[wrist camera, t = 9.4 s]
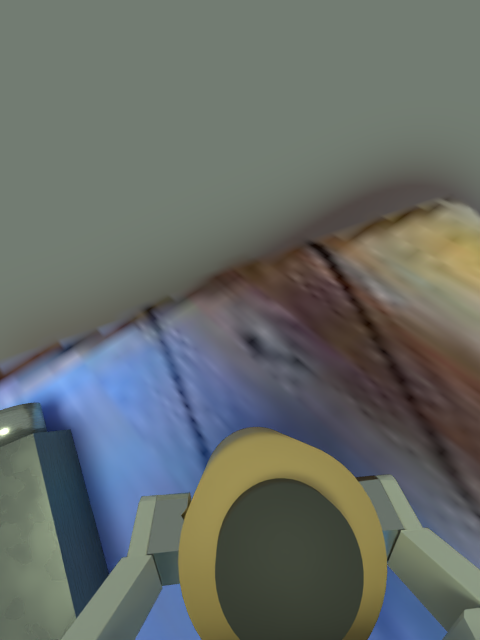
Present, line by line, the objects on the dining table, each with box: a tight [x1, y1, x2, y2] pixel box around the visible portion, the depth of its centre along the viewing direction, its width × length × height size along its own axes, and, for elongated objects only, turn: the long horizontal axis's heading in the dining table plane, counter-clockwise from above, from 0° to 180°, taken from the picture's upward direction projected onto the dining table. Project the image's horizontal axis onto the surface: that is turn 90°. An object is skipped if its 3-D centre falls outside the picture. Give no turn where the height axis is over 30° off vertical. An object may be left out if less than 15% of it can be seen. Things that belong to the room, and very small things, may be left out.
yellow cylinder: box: [178, 427, 387, 640], centre depth 10 cm, size 5×5×8 cm
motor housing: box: [0, 403, 109, 640], centre depth 25 cm, size 22×6×6 cm, turn 23°
